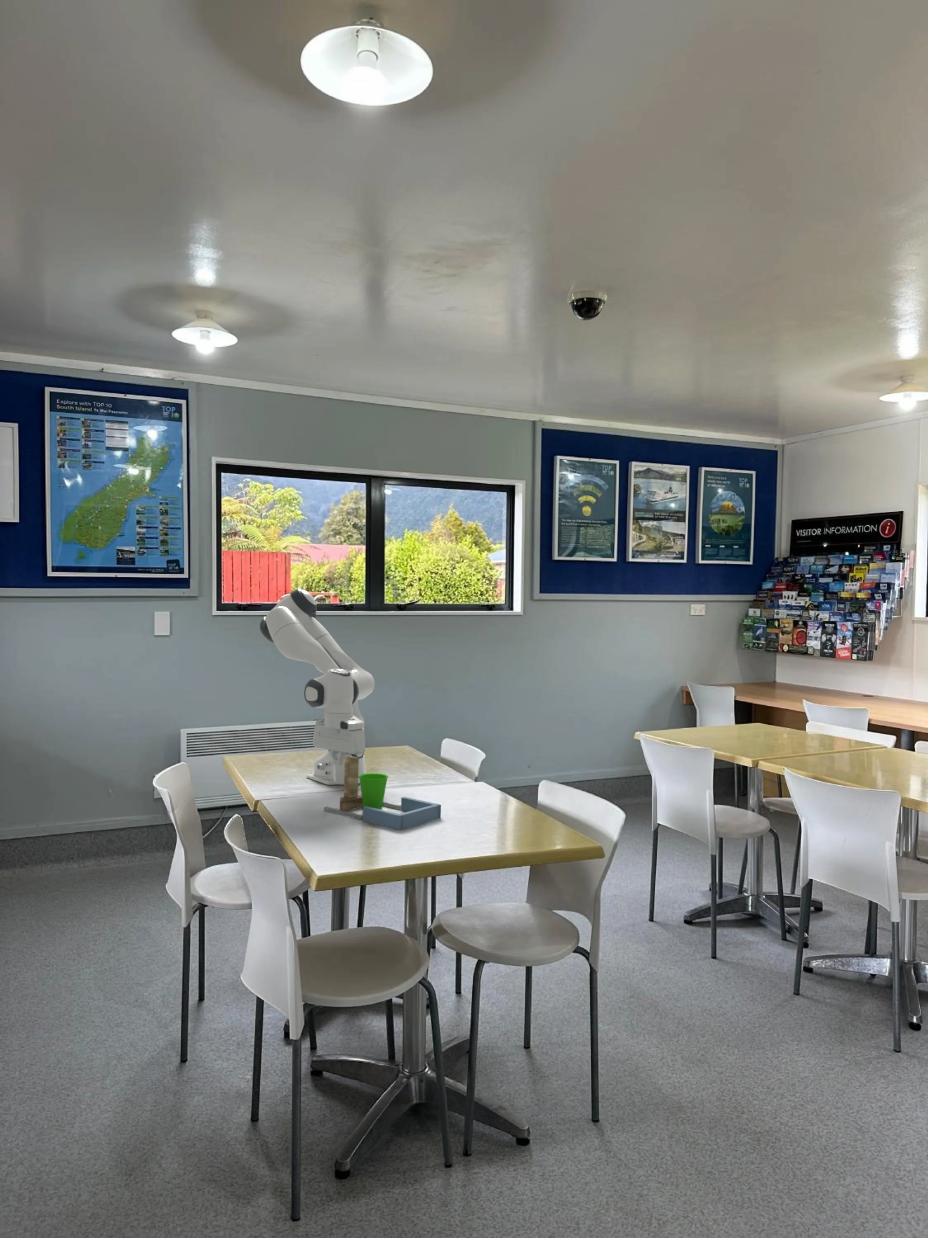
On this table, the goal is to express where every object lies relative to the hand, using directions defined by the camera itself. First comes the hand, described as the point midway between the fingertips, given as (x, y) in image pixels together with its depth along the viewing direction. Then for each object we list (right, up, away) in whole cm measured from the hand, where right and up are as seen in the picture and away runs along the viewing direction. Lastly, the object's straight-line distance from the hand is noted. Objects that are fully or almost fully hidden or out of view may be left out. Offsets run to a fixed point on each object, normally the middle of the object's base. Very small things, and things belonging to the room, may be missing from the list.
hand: (337, 765), depth 262 cm
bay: (+21, -13, -17) cm, 30 cm away
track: (+9, -13, -7) cm, 17 cm away
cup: (+12, -13, -9) cm, 20 cm away
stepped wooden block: (+5, -12, -4) cm, 14 cm away
